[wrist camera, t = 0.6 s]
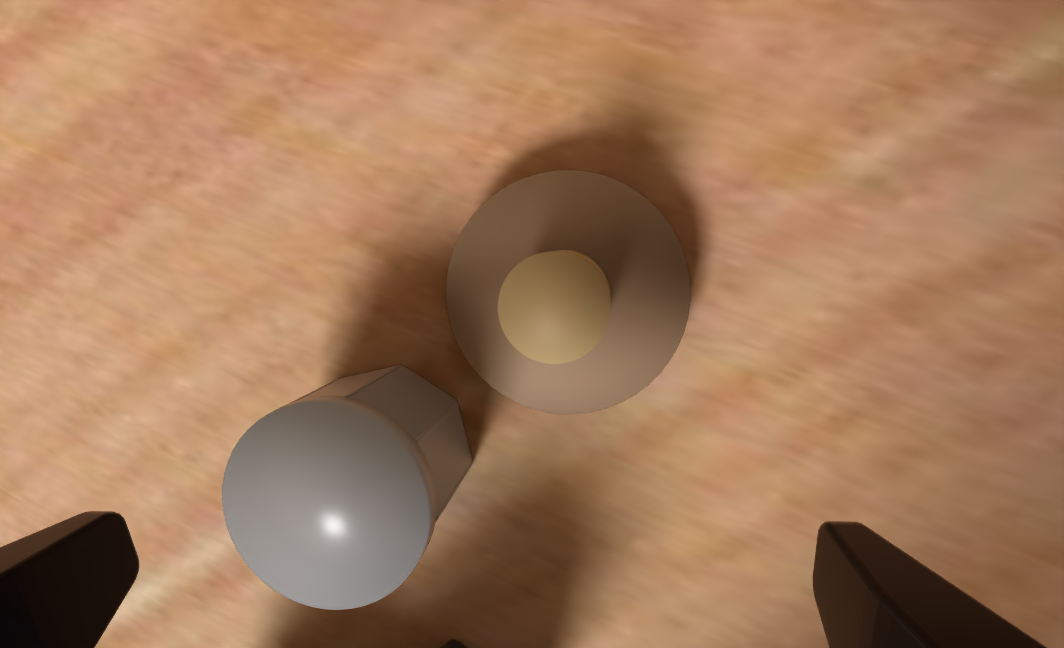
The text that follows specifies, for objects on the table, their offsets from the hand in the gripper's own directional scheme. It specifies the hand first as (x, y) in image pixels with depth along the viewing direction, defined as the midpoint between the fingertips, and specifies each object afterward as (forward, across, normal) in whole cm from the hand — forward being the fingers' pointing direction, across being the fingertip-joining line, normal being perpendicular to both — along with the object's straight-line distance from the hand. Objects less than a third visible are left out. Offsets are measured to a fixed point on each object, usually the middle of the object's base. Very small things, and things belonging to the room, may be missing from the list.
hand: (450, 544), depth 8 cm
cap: (+12, +6, +6) cm, 15 cm away
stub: (+13, -1, +1) cm, 13 cm away
